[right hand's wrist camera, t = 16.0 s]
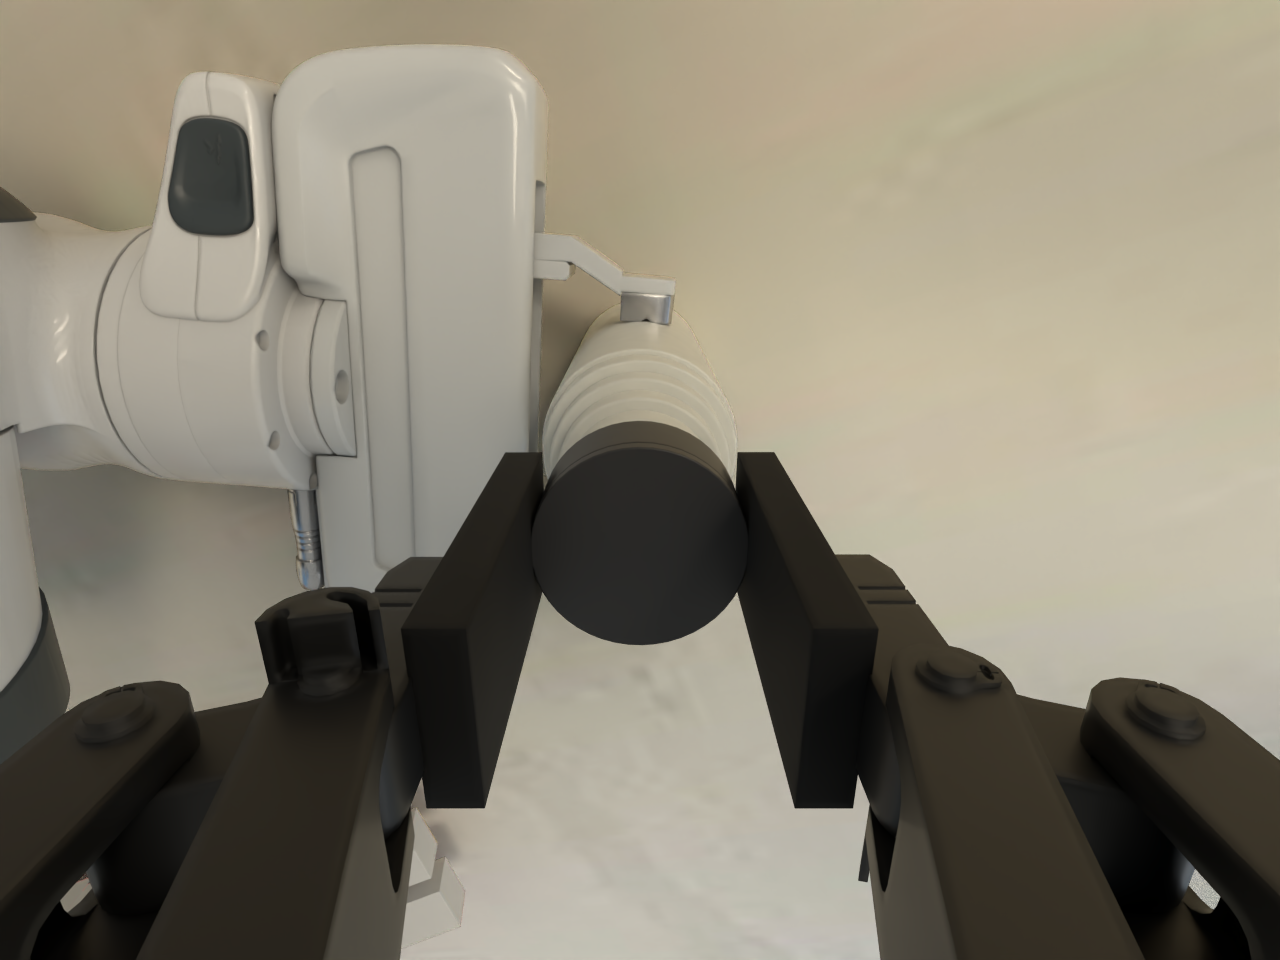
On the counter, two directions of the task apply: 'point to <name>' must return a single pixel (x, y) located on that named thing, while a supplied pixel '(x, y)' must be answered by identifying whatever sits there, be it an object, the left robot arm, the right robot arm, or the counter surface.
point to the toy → (429, 891)
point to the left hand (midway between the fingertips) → (664, 395)
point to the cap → (639, 534)
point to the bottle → (639, 387)
